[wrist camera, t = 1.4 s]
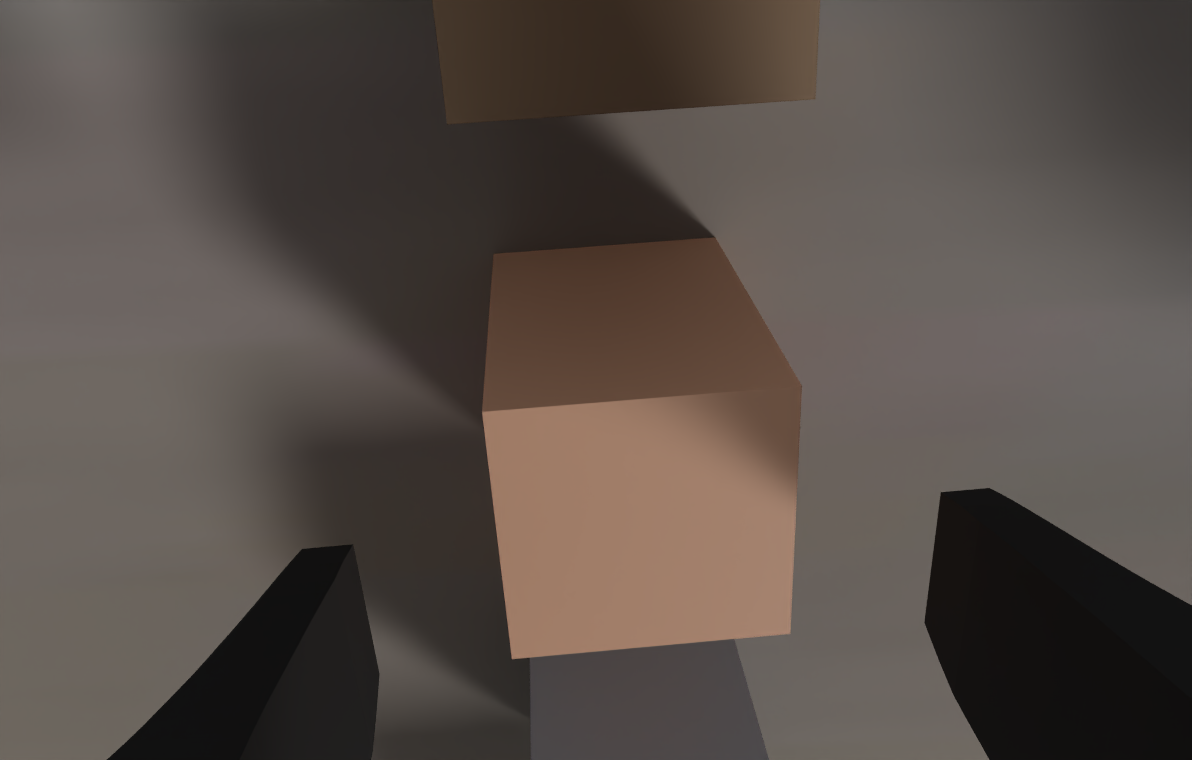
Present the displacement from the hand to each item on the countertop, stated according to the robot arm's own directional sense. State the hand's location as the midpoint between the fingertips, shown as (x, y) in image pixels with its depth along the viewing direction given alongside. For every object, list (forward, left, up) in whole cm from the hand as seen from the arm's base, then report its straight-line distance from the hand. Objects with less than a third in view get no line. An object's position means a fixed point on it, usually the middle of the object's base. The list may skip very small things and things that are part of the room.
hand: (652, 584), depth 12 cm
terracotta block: (0, 0, -7) cm, 7 cm away
